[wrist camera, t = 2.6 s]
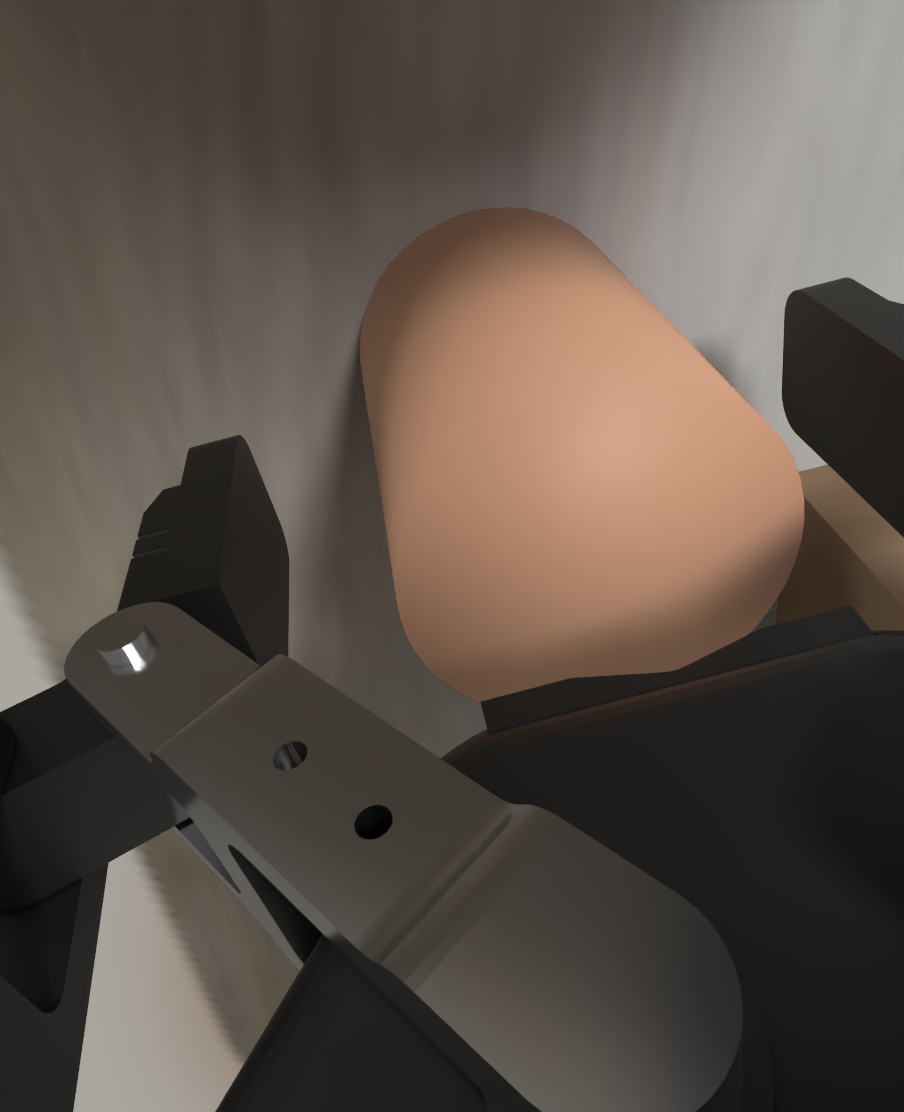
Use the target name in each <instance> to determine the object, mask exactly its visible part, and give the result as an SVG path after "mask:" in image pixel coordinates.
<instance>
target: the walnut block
mask: <svg viewBox="0 0 904 1112" xmlns="http://www.w3.org/2000/svg"><path fill="white" fill-rule="evenodd" d="M798 473H799V476H800V479H801V484H802V490H803V495H804V527H803V533H802V540H801V545H800V548H799V551H798V555H797V558H796V561H795V564H794V567H793V569H792V571H791V573H790V576H789V578H788V580H787V582H786V584H785V586H784V588H783V589H782V591H781V593H780V594H779V596H778V610H777V624H781V623H784V622H788V621H792V620H796V619H800V618H804V617H808V616H811V615H815V614H819V613H823V612H827V611H831V610H834V609H838V608H842V607H846V606H850V605H851V606H852V608H853V609H854V610H855V611H856V612H857V613H858V615H859V616H860V617H861V618H862V619H863V621H864V622H865V623H866V624H867V625H868V627H869V628H870V629H871V630H872V631H875V630H898V631H904V538H903V537H902V536H901V535H900V534H899V533H898V532H897V531H896V530H895V529H894V528H893V527H892V526H891V525H890V524H889V523H888V522H887V521H886V520H885V519H884V518H883V517H882V516H881V515H880V514H879V513H878V512H876V511H875V510H874V509H873V508H872V507H871V506H870V505H869V504H868V503H867V502H866V501H865V500H864V499H863V498H862V497H861V496H860V495H859V494H858V493H857V492H856V491H855V490H854V489H853V488H852V487H851V486H850V485H849V484H848V483H847V482H846V481H845V480H843V479H842V478H841V477H840V476H839V475H838V474H837V473H836V472H835V471H834V470H833V469H832V468H831V467H830V466H829V465H825V466H821V467H817V468H813V469H809V470H805V471H801V472H798Z"/></svg>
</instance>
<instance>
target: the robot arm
mask: <svg viewBox="0 0 904 1112" xmlns="http://www.w3.org/2000/svg"><path fill="white" fill-rule="evenodd" d="M782 401H783V407H784V411H785V414H786V417H787V420H788V422H789V424H790V426H791V428H792V429H793V431H794V432H795V433H796V434H797V435H798V436H799V437H800V438H801V439H802V440H803V441H804V442H805V443H806V444H807V445H808V446H809V447H810V448H812V449H813V450H814V451H815V452H816V453H817V454H818V455H819V456H820V457H821V458H822V459H823V460H824V461H825V462H826V463H827V464H828V465H829V466H830V467H831V468H832V469H833V470H834V471H835V472H836V473H837V474H838V475H839V476H840V477H841V478H842V479H843V480H845V481H846V482H847V483H848V484H849V485H850V486H851V487H852V488H853V489H854V490H855V491H856V492H857V493H858V494H859V495H860V496H861V497H862V498H863V499H864V500H865V501H866V502H867V503H868V504H869V505H870V506H871V507H872V508H873V509H874V510H875V511H876V512H878V513H879V514H880V515H881V516H882V517H883V518H884V519H885V520H886V521H887V522H888V523H889V524H890V525H891V526H892V527H893V528H894V529H895V530H896V531H897V532H898V533H899V534H900V535H901V536H902V537H903V538H904V304H900V303H896V302H892V301H888V300H887V299H885V298H883V297H882V296H880V295H878V294H877V293H875V292H873V291H872V290H870V289H868V288H866V287H865V286H863V285H861V284H860V283H858V282H856V281H855V280H853V279H851V278H842V279H838V280H834V281H830V282H826V283H823V284H819V285H815V286H811V287H807V288H804V289H800V290H796V291H793V292H792V293H791V294H790V295H789V297H788V299H787V302H786V307H785V319H784V347H783V374H782ZM138 538H139V540H136V544H135V547H134V551H133V557H134V559H131V562H130V566H129V569H128V573H127V577H126V580H125V584H124V588H123V591H122V595H121V599H120V602H119V606H118V610H117V612H115V613H113V614H111V615H109V616H108V617H106V618H104V619H103V620H101V621H99V622H98V623H97V624H95V625H94V626H92V627H91V628H90V629H89V630H88V631H86V632H85V633H84V634H83V635H82V636H81V637H80V638H79V639H78V641H77V642H76V643H75V644H74V646H73V647H72V648H71V650H70V652H69V654H68V656H67V658H66V662H65V669H64V672H65V676H66V678H67V679H65V680H64V681H62V682H61V683H59V684H57V685H55V686H53V687H51V688H49V689H47V690H45V691H43V692H41V693H39V694H37V695H35V696H33V697H31V698H29V699H27V700H24V701H22V702H21V703H18V704H16V705H14V706H12V707H10V708H8V709H6V710H4V711H2V712H0V1112H73V1108H74V1101H75V1093H76V1086H77V1080H78V1073H79V1065H80V1059H81V1052H82V1044H83V1038H84V1031H85V1023H86V1016H87V1009H88V1003H89V995H90V988H91V981H92V974H93V967H94V960H95V953H96V946H97V939H98V932H99V925H100V917H101V910H102V904H103V897H104V889H105V883H106V875H107V868H108V862H110V861H112V860H113V859H115V858H117V857H119V856H120V855H123V854H124V853H126V852H128V851H130V850H132V849H133V848H135V847H137V846H139V845H141V844H143V843H144V842H146V841H148V840H150V839H152V838H153V837H155V836H157V835H159V834H161V833H162V832H164V831H166V830H168V829H170V828H172V829H173V831H174V832H175V833H176V834H177V835H178V836H179V838H180V839H181V840H182V841H183V842H184V843H185V844H186V845H187V846H188V847H189V848H190V849H191V850H192V851H193V852H194V853H195V855H196V856H197V857H198V858H199V859H200V860H201V861H202V862H203V863H204V864H205V865H206V866H207V867H208V868H209V869H210V870H211V872H212V873H213V874H214V875H215V876H216V877H217V878H218V879H219V880H220V881H221V882H222V883H223V884H224V885H225V886H226V887H227V888H228V890H229V891H230V892H231V893H232V894H233V895H234V896H235V897H236V898H237V899H238V900H239V901H240V902H241V903H242V904H243V905H244V907H245V908H246V909H247V910H248V911H249V912H250V913H251V914H252V915H253V916H254V917H255V919H256V920H257V921H258V922H259V923H260V924H261V926H262V927H263V928H264V929H265V930H266V932H267V933H268V934H269V936H270V937H271V938H272V939H273V941H274V942H275V943H276V945H277V946H278V947H279V948H280V950H281V951H282V952H283V953H284V955H285V956H286V957H287V958H288V959H289V961H290V962H291V963H292V964H293V965H294V966H295V968H296V969H297V970H298V971H299V974H298V975H297V977H296V979H295V980H294V982H293V984H292V985H291V987H290V989H289V990H288V992H287V994H286V995H285V997H284V999H283V1000H282V1002H281V1004H280V1005H279V1007H278V1009H277V1010H276V1012H275V1014H274V1015H273V1017H272V1019H271V1020H270V1022H269V1024H268V1025H267V1027H266V1029H265V1030H264V1032H263V1034H262V1035H261V1037H260V1038H259V1040H258V1042H257V1043H256V1045H255V1047H254V1048H253V1050H252V1052H251V1053H250V1055H249V1057H248V1058H247V1060H246V1062H245V1063H244V1065H243V1067H242V1068H241V1070H240V1072H239V1073H238V1075H237V1077H236V1078H235V1080H234V1082H233V1083H232V1085H231V1087H230V1088H229V1090H228V1092H227V1093H226V1095H225V1097H224V1098H223V1100H222V1102H221V1103H220V1105H219V1107H218V1108H217V1110H216V1112H904V631H898V630H875V631H872V630H871V629H870V628H869V627H868V625H867V624H866V623H865V622H864V621H863V619H862V618H861V617H860V616H859V615H858V613H857V612H856V611H855V610H854V609H853V608H852V606H851V605H850V606H846V607H842V608H838V609H834V610H831V611H827V612H823V613H819V614H815V615H811V616H808V617H804V618H800V619H796V620H792V621H788V622H784V623H781V624H777V625H773V626H769V627H765V628H761V629H759V630H757V631H755V632H753V633H751V634H749V635H747V636H745V637H743V638H741V639H739V640H737V641H735V642H733V643H731V644H729V645H727V646H725V647H723V648H721V649H719V650H717V651H715V652H713V653H711V654H709V655H707V656H705V657H703V658H701V659H699V660H697V661H695V662H693V663H691V664H689V665H687V666H685V667H683V668H680V669H678V670H674V671H669V672H658V673H642V674H626V675H610V676H594V677H578V678H569V679H565V680H561V681H558V682H554V683H550V684H546V685H542V686H538V687H535V688H531V689H527V690H523V691H519V692H515V693H512V694H508V695H504V696H500V697H496V698H492V699H488V700H485V701H481V705H482V709H483V713H484V717H485V721H486V725H487V730H485V731H483V732H481V733H479V734H477V735H475V736H473V737H471V738H470V739H468V740H467V741H465V742H464V743H462V744H460V745H459V746H457V747H456V748H454V749H453V750H451V751H450V752H449V753H448V754H446V755H445V756H444V757H443V758H441V759H440V758H439V757H437V756H436V755H434V754H433V753H431V752H430V751H428V750H427V749H425V748H424V747H422V746H421V745H419V744H418V743H416V742H415V741H413V740H412V739H410V738H409V737H407V736H406V735H404V734H403V733H401V732H400V731H398V730H397V729H395V728H394V727H392V726H391V725H389V724H388V723H386V722H385V721H383V720H382V719H380V718H379V717H377V716H376V715H374V714H373V713H371V712H370V711H368V710H367V709H365V708H364V707H362V706H361V705H359V704H358V703H356V702H355V701H353V700H352V699H350V698H349V697H347V696H346V695H344V694H343V693H341V692H340V691H338V690H337V689H335V688H334V687H333V686H331V685H330V684H328V683H327V682H325V681H324V680H322V679H321V678H319V677H318V676H316V675H315V674H313V673H312V672H310V671H309V670H307V669H306V668H304V667H303V666H301V665H300V664H298V663H297V662H295V661H294V660H292V659H290V658H289V657H288V626H289V555H288V549H287V544H286V540H285V536H284V533H283V530H282V527H281V524H280V521H279V519H278V516H277V514H276V512H275V509H274V507H273V504H272V502H271V499H270V497H269V495H268V492H267V490H266V487H265V485H264V482H263V480H262V477H261V475H260V473H259V470H258V468H257V465H256V463H255V460H254V458H253V456H252V453H251V451H250V449H249V446H248V444H247V443H246V441H245V439H244V438H243V437H242V436H241V435H237V436H233V437H230V438H226V439H222V440H218V441H214V442H211V443H207V444H203V445H199V446H195V447H191V448H190V449H189V450H188V454H187V459H186V463H185V468H184V473H183V477H182V482H181V485H179V486H175V487H172V488H168V489H164V490H163V491H162V492H161V493H160V494H159V496H158V497H157V498H156V499H155V500H154V502H153V503H152V504H151V505H150V506H149V508H148V509H147V510H146V511H145V512H144V514H143V518H142V522H141V525H140V529H139V533H138Z"/></svg>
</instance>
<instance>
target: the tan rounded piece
mask: <svg viewBox="0 0 904 1112" xmlns="http://www.w3.org/2000/svg"><path fill="white" fill-rule="evenodd" d="M359 352H360V364H361V372H362V379H363V385H364V392H365V399H366V405H367V412H368V418H369V425H370V431H371V438H372V444H373V451H374V457H375V464H376V470H377V477H378V484H379V490H380V497H381V503H382V510H383V516H384V523H385V529H386V536H387V542H388V549H389V555H390V562H391V568H392V575H393V582H394V588H395V595H396V601H397V607H398V611H399V615H400V619H401V623H402V626H403V629H404V631H405V633H406V636H407V638H408V640H409V643H410V644H411V646H412V647H413V649H414V651H415V652H416V654H417V655H418V657H419V658H420V660H421V661H422V662H423V663H424V664H425V665H426V666H427V668H428V669H429V670H430V671H431V672H432V673H433V674H434V675H435V676H436V677H437V678H439V679H440V680H441V681H442V682H444V683H445V684H446V685H447V686H449V687H450V688H451V689H453V690H455V691H457V692H458V693H460V694H462V695H463V696H465V697H467V698H469V699H471V700H473V701H476V702H478V703H480V704H481V701H485V700H488V699H492V698H496V697H500V696H504V695H508V694H512V693H515V692H519V691H523V690H527V689H531V688H535V687H538V686H542V685H546V684H550V683H554V682H558V681H561V680H565V679H569V678H578V677H594V676H610V675H626V674H642V673H658V672H669V671H674V670H678V669H680V668H683V667H685V666H687V665H689V664H691V663H693V662H695V661H697V660H699V659H701V658H703V657H705V656H707V655H709V654H711V653H713V652H715V651H717V650H719V649H721V648H723V647H725V646H727V645H729V644H731V643H733V642H735V641H737V640H739V639H741V638H743V637H745V636H747V635H749V633H750V632H751V631H752V630H753V629H754V628H755V627H756V626H757V625H758V624H759V623H760V621H761V620H762V619H763V618H764V616H765V615H766V614H767V612H768V611H769V610H770V608H771V607H772V606H773V604H774V603H775V601H776V599H777V598H778V596H779V594H780V593H781V591H782V589H783V588H784V586H785V584H786V582H787V580H788V578H789V576H790V573H791V571H792V569H793V567H794V564H795V561H796V558H797V555H798V551H799V548H800V545H801V540H802V533H803V527H804V495H803V490H802V484H801V479H800V476H799V473H798V470H797V468H796V465H795V462H794V460H793V457H792V456H791V454H790V452H789V451H788V449H787V447H786V446H785V444H784V442H783V441H782V439H781V438H780V437H779V436H778V435H777V433H776V432H775V431H774V430H773V429H772V428H771V427H770V426H769V424H768V423H767V422H766V421H765V420H764V419H763V418H762V417H761V416H760V415H759V414H758V413H757V412H756V411H755V410H754V409H753V408H752V407H751V406H750V405H749V404H748V403H747V401H746V400H745V399H744V398H743V397H742V396H741V395H740V394H739V393H738V392H737V391H736V390H735V389H734V388H733V387H732V386H731V385H730V384H729V383H728V382H727V381H726V380H725V379H724V378H723V377H722V376H721V375H720V374H719V373H718V372H717V371H716V370H715V368H714V367H713V366H712V365H711V364H710V363H709V362H708V361H707V360H706V359H705V358H704V357H703V356H702V355H701V354H700V353H699V352H698V351H697V350H696V349H695V348H694V347H693V346H692V345H691V344H690V343H689V342H688V341H687V340H686V339H685V338H684V336H683V335H682V334H681V333H680V332H679V331H678V330H677V329H676V328H675V327H674V326H673V325H672V324H671V323H670V322H669V321H668V320H667V319H666V318H665V317H664V316H663V315H662V314H661V313H660V312H659V311H658V310H657V309H656V308H655V307H654V306H653V304H652V303H651V302H650V301H649V300H648V299H647V298H646V297H645V296H644V295H643V294H642V293H641V292H640V291H639V290H638V289H637V288H636V287H635V286H634V285H633V284H632V283H631V282H630V281H629V280H628V279H627V278H626V277H625V276H624V275H623V274H622V273H621V271H620V270H619V269H618V268H617V267H616V266H615V265H614V264H613V263H612V262H611V261H610V260H609V259H608V258H607V257H606V256H605V255H604V254H603V253H602V252H601V251H600V250H599V249H598V248H597V247H596V246H595V245H594V244H593V243H592V242H591V241H590V240H589V239H588V238H587V237H586V236H584V235H583V234H582V233H581V232H579V231H578V230H577V229H575V228H574V227H572V226H570V225H569V224H567V223H565V222H563V221H562V220H559V219H557V218H554V217H552V216H549V215H547V214H544V213H540V212H536V211H532V210H528V209H518V208H489V209H483V210H478V211H473V212H468V213H465V214H462V215H459V216H456V217H453V218H451V219H448V220H446V221H444V222H442V223H440V224H438V225H436V226H434V227H432V228H431V229H429V230H428V231H426V232H425V233H423V234H422V235H420V236H419V237H417V238H416V239H415V240H414V241H413V242H411V243H410V244H409V245H408V246H407V247H406V248H405V249H403V250H402V251H401V252H400V253H399V255H398V256H397V257H396V258H395V259H394V260H393V261H392V263H391V264H390V265H389V266H388V268H387V269H386V271H385V272H384V273H383V275H382V276H381V278H380V279H379V281H378V283H377V285H376V287H375V289H374V291H373V293H372V295H371V297H370V299H369V302H368V305H367V308H366V311H365V314H364V317H363V323H362V328H361V333H360V349H359Z"/></svg>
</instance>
